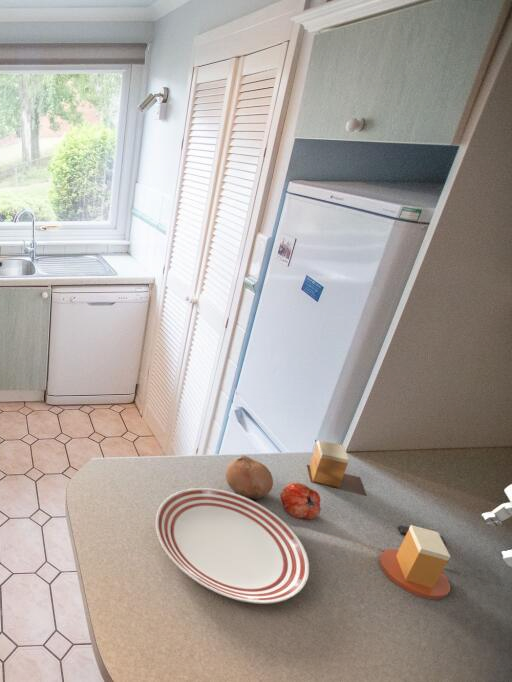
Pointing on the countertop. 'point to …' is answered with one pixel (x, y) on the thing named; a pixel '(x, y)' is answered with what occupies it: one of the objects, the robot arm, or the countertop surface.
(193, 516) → the dinner plate
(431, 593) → the coaster
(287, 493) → the pomegranate
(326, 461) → the loaf cake
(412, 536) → the cake slice
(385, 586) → the countertop surface
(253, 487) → the onion
